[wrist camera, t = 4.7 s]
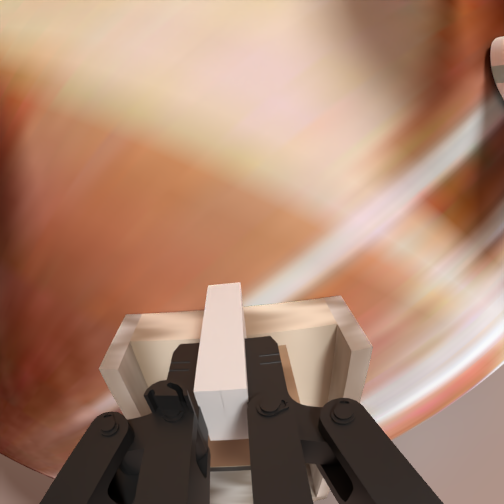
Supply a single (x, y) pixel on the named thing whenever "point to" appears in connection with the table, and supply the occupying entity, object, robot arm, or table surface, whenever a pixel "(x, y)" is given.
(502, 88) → the can
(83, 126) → the table surface
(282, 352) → the walnut block
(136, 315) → the wooden tray
